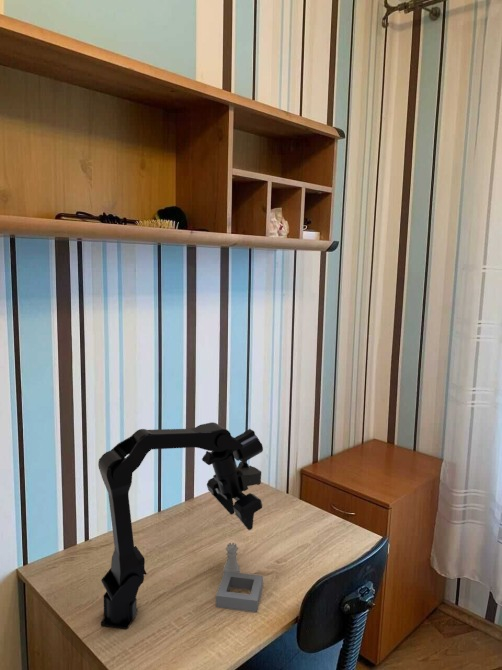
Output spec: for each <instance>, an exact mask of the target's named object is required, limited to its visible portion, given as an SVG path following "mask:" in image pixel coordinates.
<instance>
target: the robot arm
mask: <svg viewBox="0 0 502 670" xmlns="http://www.w3.org/2000/svg"><path fill="white" fill-rule="evenodd" d="M185 448H186V449H188V448H189V449H190V448H197V449H202V450H204V451H206V452H205V454H204V455H203V457H202V458H201V460H202V462H204V463H205V464H206V465H208V466H211V465H212V468H213V470H214V474H213V476H212V478H210V479H208V481H207V484H206V488H207V490H208V492H210V493H211V495H212V496H213V497H214V498H215V499H216V500H217V502H218V503H220V505H221V506H223V508H224V509H225V510H226V511H227V512H228V513H229V514H230V516H232V515H235V516H236V517H237V518H238V520H239V521H240V522H241V523H242V524H243V526H244V527H245V528H246V529H247V530H248V531H251V530H253V527H254V518H255V516H254V515H255V513H256V512H258V511H260V510H261V509H263V502H262V499H261V498H260V497H258V496H257V495H255V494H254V493H251V492H250V493H248V494H245V493H243V492H246V491H248V490H249V487H251V486H255V485H257V486H260V485H261V484H262V471H261V470H260V469H258V468H257V467H255V466H252V465H249V464H248V462H247V461H249V460H250V459H252V458H254V457H256V456H257V455H260V454H261V453H263V451H264V447H263V444H262V443H261V441H260V439H259V438H258V436H257V435H256V432H255V431H254V430H253V429H251V428H248V429H246V430H245V431H244V432H243V433H241V434H239V435H237V436H235V437H234V436H232V434H231V432H230V431H229V430H228V429H226V428H225V427H223V426H221V425H220V424H218V423H216V422H207V423H203V424H202V423H201V424H199V425H197V426H196V427H191V428H171V429H169V428H168V429H167V428H166V429H165V428H163V429H147V428H141V429H138V430H136V431H135V432H134V433H133V434H132V435H130V436H129V437H127V438H125V439H123V440H122V441H120V442H118V443H117V444H116V445H115V446H114V447H112V449H111V450H109V451H105V452H104V453H103V454H102V455H101V456H100V458H99V459H98V465H97V466H98V469H99V472H100V475H101V479H102V481H103V483H104V485H105V488H106V492H107V495H108V503H109V510H110V511H109V513H110V519H111V527H112V528H111V529H112V536H113V537H112V538H113V544H114V550H113V553H112V556H111V562H110V563H111V564H110V565H111V566H110V569H108V571H107V572H106V573H105V575H104V576H103V577H102V578H101V580H100V581H101V583H102V585H103V587H104V589H105V591H106V592H105V593H104V595H103V618H102V620H101V621H100V626H102V625H104V626H105V627H108V628H109V627H110V628H117V629H118V628H119V629H125V630H127V629H128V628H129V627H130V625H131V623H132V622H133V621H134V619H135V618H136V616H137V613H138V608H137V607H138V606H137V603H138V602H137V601H138V600H137V595H138V592H139V589H140V586H141V585H142V584H143V583H144V581H145V575H147V574H148V573H147V572H146V569H145V556H144V555H143V554H142V553H141V551H140V550H139V548H138V547H137V546H136V545H135V543H134V534H133V525H132V516H131V515H132V514H131V505H130V497H129V492H130V489H131V486H132V484H133V483H132V482H133V473H134V472H135V471H136V470H137V469H138V468H139V467H140V466H141V465H142V463H143V461H144V459H145V458H146V456H147V455H148V453H150V452H151V450H167V449H170V450H171V449H185ZM236 461H238V462H239V464H238V465H237V462H236ZM233 499H234V500H235V502H234V500H233ZM104 626H103V627H104Z"/></svg>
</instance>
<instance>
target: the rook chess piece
mask: <svg viewBox="0 0 502 670" xmlns="http://www.w3.org/2000/svg"><path fill="white" fill-rule="evenodd" d="M225 550H226V552H227V553H226V562H225V564H224V566H223V570H222V572H223V573H222V574H224V572H225V571H228V572H236V573H241V571H240V570H241V569H240V565H239V563H238V560H237V556H238V553H237V551H238V550H239V547H238V546H237V543H234V542H232V543H231V542H230V543H228V544H227V545H226V548H225Z"/></svg>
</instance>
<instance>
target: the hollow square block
mask: <svg viewBox="0 0 502 670" xmlns="http://www.w3.org/2000/svg"><path fill="white" fill-rule="evenodd" d="M263 587H264V576H263V575H260V574H252V573H243V572H240V573H236V572H228V571H225V572H224V573H223V575H222V579H221V581H220V584H219V587H218V589H217V592H216V595H215V608H221V609H228V610H233V611H234V610H235V611H242V612H249V613H258V610H259V605H260V601H261V597H262V592H263ZM231 589H241V590H246V591H250V594H249V593H241V592H240V593H239V592H234V591H233V592H232V591H231Z"/></svg>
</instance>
